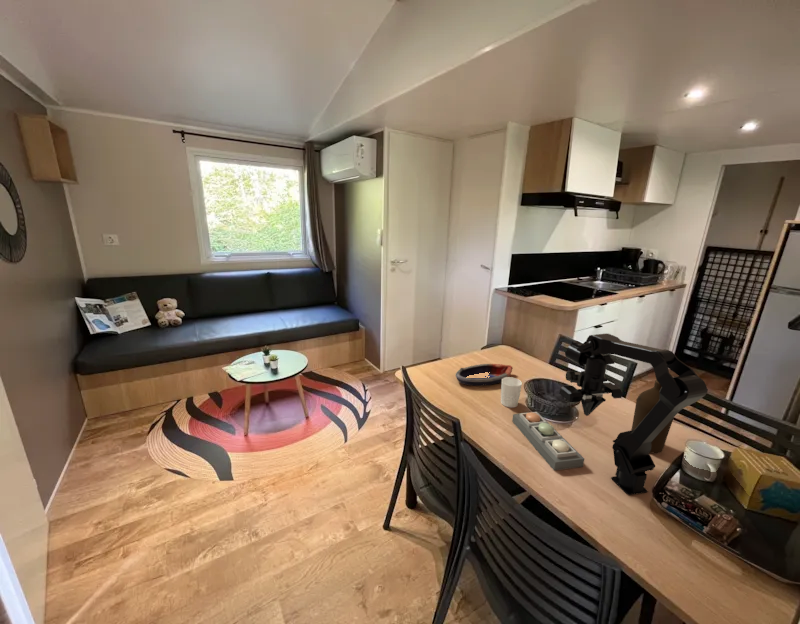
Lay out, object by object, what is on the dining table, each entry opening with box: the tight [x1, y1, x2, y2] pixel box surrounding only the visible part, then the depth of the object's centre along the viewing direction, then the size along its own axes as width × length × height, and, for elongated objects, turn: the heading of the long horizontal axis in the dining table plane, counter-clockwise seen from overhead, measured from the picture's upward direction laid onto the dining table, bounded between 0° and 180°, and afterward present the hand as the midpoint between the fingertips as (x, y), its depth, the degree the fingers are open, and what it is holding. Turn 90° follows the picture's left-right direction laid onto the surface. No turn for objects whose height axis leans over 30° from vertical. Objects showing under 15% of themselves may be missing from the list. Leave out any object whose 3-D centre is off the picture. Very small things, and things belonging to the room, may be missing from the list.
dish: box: [455, 363, 513, 387], centre depth 161 cm, size 16×31×5 cm, turn 109°
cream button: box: [552, 440, 569, 453], centre depth 109 cm, size 5×5×2 cm
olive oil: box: [630, 378, 675, 454], centre depth 113 cm, size 11×11×25 cm
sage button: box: [538, 422, 555, 435], centre depth 116 cm, size 5×5×2 cm
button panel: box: [511, 411, 585, 471], centre depth 117 cm, size 26×10×4 cm, turn 10°
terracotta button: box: [526, 411, 540, 423], centre depth 124 cm, size 5×5×2 cm
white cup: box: [500, 376, 523, 409], centre depth 139 cm, size 8×8×10 cm
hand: (586, 415), depth 112 cm, fingers closed
